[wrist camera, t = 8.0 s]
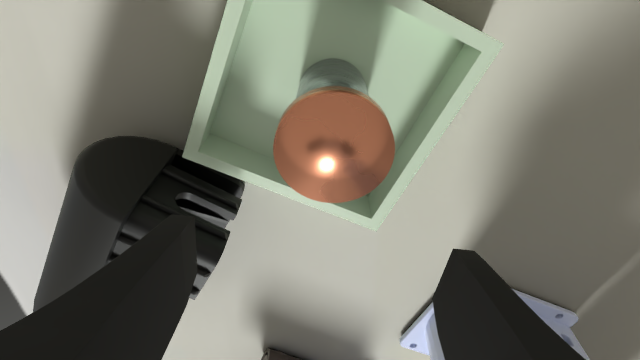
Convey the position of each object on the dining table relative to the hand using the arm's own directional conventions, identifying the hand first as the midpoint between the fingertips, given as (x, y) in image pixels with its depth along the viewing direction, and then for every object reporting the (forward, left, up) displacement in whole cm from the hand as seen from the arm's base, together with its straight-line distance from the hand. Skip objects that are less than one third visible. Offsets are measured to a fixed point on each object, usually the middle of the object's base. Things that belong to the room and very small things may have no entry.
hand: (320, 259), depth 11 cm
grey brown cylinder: (0, -2, -9) cm, 9 cm away
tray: (+1, -2, -10) cm, 10 cm away
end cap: (+7, +9, -10) cm, 15 cm away
